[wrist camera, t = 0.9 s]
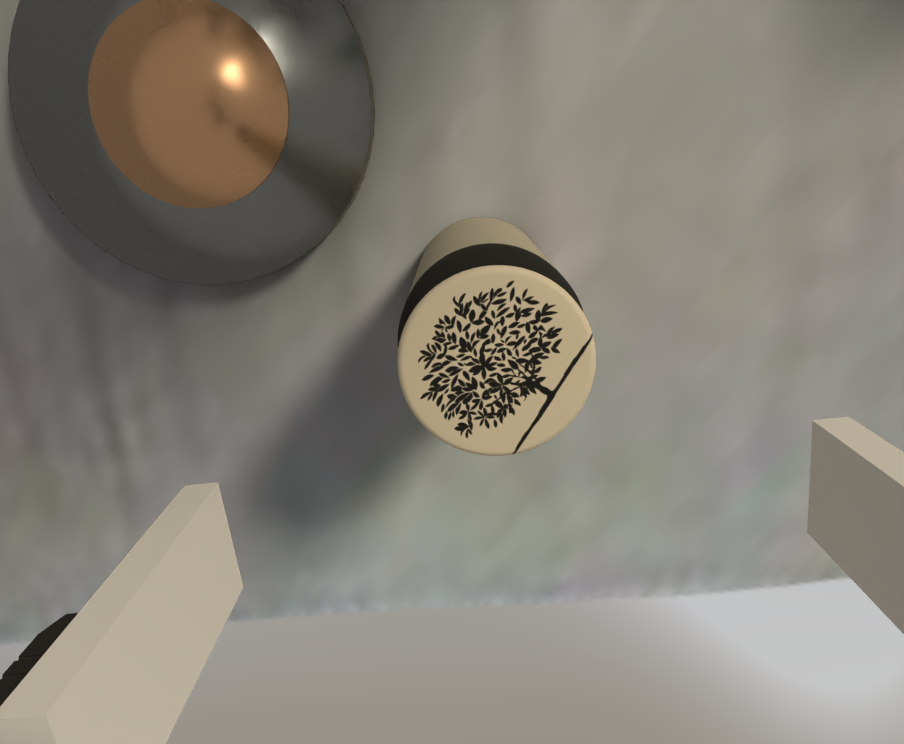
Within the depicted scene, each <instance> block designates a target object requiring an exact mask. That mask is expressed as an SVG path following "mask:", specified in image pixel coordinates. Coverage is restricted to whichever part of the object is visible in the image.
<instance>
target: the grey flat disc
mask: <svg viewBox="0 0 904 744" xmlns="http://www.w3.org/2000/svg"><path fill="white" fill-rule="evenodd" d="M8 82H9V90H10V99H11V106H12V110H13V115H14V119H15V123H16V127H17V131H18V134H19V136H20V139H21V142H22V145H23V147H24V150H25V153H26V155H27V157H28V159H29V161H30V163H31V165H32V167H33V169H34V171H35V173H36V175H37V177H38V179H39V180H40V182H41V183H42V185H43V187H44V188H45V190H46V191H47V193H48V194H49V196H50V197H51V199H52V200H53V201H54V202H55V204H56V205H57V206H58V207H59V209H60V210H61V211H62V212H63V214H64V215H65V216H66V217H67V218H68V219H69V220H70V221H71V222H72V223H73V224H74V225H75V226H76V227H77V228H78V229H79V230H80V231H81V232H82V233H83V234H84V235H85V236H86V237H88V238H89V239H90V240H92V241H93V242H94V243H95V244H97V245H98V246H99V247H100V248H102V249H103V250H105V251H106V252H108V253H109V254H111V255H113V256H114V257H116V258H117V259H119V260H121V261H122V262H124V263H126V264H128V265H131V266H133V267H135V268H137V269H139V270H141V271H143V272H146V273H149V274H152V275H155V276H158V277H161V278H164V279H168V280H173V281H178V282H183V283H190V284H203V285H216V284H231V283H237V282H242V281H247V280H252V279H255V278H258V277H261V276H264V275H267V274H270V273H272V272H274V271H276V270H278V269H280V268H282V267H284V266H286V265H288V264H290V263H292V262H293V261H295V260H297V259H298V258H300V257H301V256H302V255H304V254H305V253H307V252H308V251H310V250H311V249H313V248H314V247H315V246H316V245H318V244H319V243H320V242H321V241H322V240H323V239H324V238H325V237H326V236H327V235H328V234H330V232H331V231H332V230H333V229H334V228H335V226H336V225H337V224H338V223H339V222H340V220H341V219H342V218H343V217H344V215H345V213H346V212H347V210H348V209H349V207H350V205H351V204H352V202H353V201H354V199H355V197H356V194H357V192H358V190H359V188H360V186H361V183H362V181H363V179H364V175H365V172H366V169H367V165H368V162H369V159H370V154H371V148H372V142H373V136H374V114H375V110H374V98H373V86H372V81H371V77H370V72H369V67H368V62H367V59H366V56H365V53H364V50H363V47H362V44H361V41H360V38H359V36H358V34H357V32H356V30H355V28H354V26H353V23H352V21H351V19H350V17H349V15H348V13H347V12H346V10H345V9H344V7H343V6H342V4H341V2H340V1H339V0H20V2H19V4H18V8H17V12H16V15H15V19H14V22H13V26H12V31H11V38H10V46H9V53H8Z"/></svg>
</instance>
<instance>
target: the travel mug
mask: <svg viewBox="0 0 904 744" xmlns="http://www.w3.org/2000/svg"><path fill="white" fill-rule="evenodd" d="M397 366H398V376H399V382H400V386H401V389H402V392H403V395H404V398H405V400H406V402H407V404H408V406H409V407H410V409H411V411H412V412H413V414H414V415H415V417H416V418H417V419H418V420H419V422H420V423H421V424H422V425H423V426H424V427H425V428H426V429H427V430H428V431H429V432H431V433H432V434H433V435H434V436H436V437H437V438H438V439H440V440H442V441H443V442H445V443H447V444H449V445H451V446H453V447H455V448H457V449H460V450H463V451H466V452H470V453H474V454H480V455H490V456H501V455H510V454H516V453H520V452H524V451H527V450H530V449H533V448H535V447H538V446H540V445H542V444H544V443H546V442H547V441H549V440H550V439H552V438H554V437H555V436H556V435H558V434H559V433H560V432H561V431H563V430H564V429H565V428H566V427H567V426H568V425H569V424H570V423H571V422H572V421H573V419H574V418H575V417H576V416H577V414H578V413H579V412H580V410H581V408H582V407H583V405H584V403H585V401H586V399H587V397H588V395H589V392H590V390H591V387H592V383H593V379H594V374H595V368H596V350H595V343H594V338H593V334H592V331H591V328H590V325H589V323H588V321H587V319H586V317H585V315H584V313H583V310H582V306H581V304H580V302H579V300H578V297H577V296H576V294H575V292H574V291H573V289H572V288H571V286H570V285H569V283H568V282H567V281H566V280H565V279H564V278H563V276H562V275H561V274H560V273H559V272H558V271H557V270H556V269H555V267H554V266H553V265H552V264H551V263H550V262H549V261H548V259H547V258H546V257H545V256H544V255H543V254H542V253H541V252H540V250H539V249H538V248H537V247H536V246H535V245H534V244H533V242H532V241H531V240H530V239H529V238H528V237H527V236H526V235H525V234H524V233H523V232H522V231H520V230H519V229H518V228H516V227H515V226H513V225H511V224H509V223H507V222H504V221H501V220H498V219H494V218H485V217H478V218H470V219H465V220H462V221H459V222H456V223H454V224H452V225H450V226H449V227H447V228H445V229H444V230H443V231H441V232H440V233H439V234H438V235H437V236H436V237H435V238H434V239H433V240H432V241H431V242H430V244H429V245H428V247H427V248H426V250H425V252H424V254H423V256H422V258H421V261H420V264H419V267H418V269H417V272H416V275H415V278H414V281H413V284H412V286H411V289H410V292H409V295H408V298H407V301H406V304H405V306H404V309H403V312H402V315H401V319H400V324H399V330H398V358H397Z"/></svg>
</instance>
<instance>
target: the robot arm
mask: <svg viewBox="0 0 904 744" xmlns="http://www.w3.org/2000/svg"><path fill="white" fill-rule="evenodd" d="M807 532H808V534H809V535H810V536H811V537H812V538H813V539H814V540H815V541H816V542H817V543H818V544H819V545H820V546H821V547H822V548H823V549H824V550H825V551H826V553H827V554H828V555H829V556H830V557H831V558H832V559H833V560H834V561H835V562H836V563H837V564H838V565H839V566H840V567H841V568H842V569H843V570H844V572H845V573H846V574H847V575H848V576H849V577H850V578H851V579H852V580H853V581H854V582H855V583H856V584H857V585H858V586H859V587H860V588H861V589H862V591H863V592H864V593H865V594H866V595H867V596H868V597H869V598H870V599H871V600H872V601H873V602H874V603H875V604H876V605H877V606H878V607H879V608H880V610H881V611H882V612H883V613H884V614H885V615H886V616H887V617H888V618H889V619H890V620H891V621H892V622H893V623H894V624H895V625H896V626H897V627H898V628H899V629H900V631H902V633H903V634H904V452H902V451H901V450H899V449H898V448H896V447H894V446H893V445H891V444H890V443H888V442H887V441H885V440H884V439H882V438H881V437H879V436H878V435H876V434H874V433H873V432H871V431H870V430H868V429H867V428H865V427H864V426H862V425H861V424H859V423H858V422H856V421H854V420H853V419H851V418H850V417H841V418H831V419H821V420H813V422H812V444H811V465H810V486H809V507H808V528H807ZM242 589H243V583H242V579H241V575H240V571H239V567H238V563H237V559H236V555H235V551H234V546H233V542H232V538H231V534H230V530H229V526H228V522H227V518H226V513H225V509H224V505H223V501H222V497H221V493H220V489H219V485H218V482H216V483H206V484H196V485H187V486H184V487H183V488H182V489H181V491H180V492H179V493H178V494H177V495H176V497H175V498H174V499H173V500H172V501H171V503H170V504H169V505H168V506H167V507H166V509H165V510H164V511H163V512H162V513H161V514H160V516H159V517H158V518H157V519H156V520H155V522H154V523H153V524H152V525H151V526H150V528H149V529H148V530H147V531H146V532H145V534H144V535H143V536H142V537H141V538H140V540H139V541H138V542H137V543H136V544H135V546H134V547H133V548H132V549H131V550H130V552H129V553H128V554H127V555H126V556H125V558H124V559H123V560H122V561H121V562H120V564H119V565H118V566H117V567H116V568H115V570H114V571H113V572H112V573H111V574H110V576H109V577H108V578H107V579H106V580H105V582H104V583H103V584H102V585H101V586H100V588H99V589H98V590H97V591H96V592H95V594H94V595H93V596H92V597H91V598H90V600H89V601H88V602H87V603H86V604H85V606H84V607H83V608H82V609H81V610H80V612H79V613H73V614H66V615H64V616H63V617H62V618H60V619H59V620H57V621H56V622H55V623H53V624H52V625H50V626H49V627H48V628H46V629H45V630H44V631H42V632H41V633H39V634H38V635H37V636H36V637H35V639H34V640H33V641H32V642H31V643H30V644H29V645H28V647H27V648H26V649H25V650H24V651H23V652H22V653H21V655H20V656H19V660H18V661H14V662H13V664H12V665H11V666H10V667H9V668H8V669H7V670H6V671H5V673H4V674H3V677H2V679H1V680H0V744H166V742H167V740H168V738H169V736H170V734H171V732H172V730H173V728H174V726H175V724H176V722H177V720H178V718H179V716H180V714H181V712H182V710H183V708H184V706H185V704H186V702H187V700H188V697H189V696H190V694H191V692H192V690H193V688H194V686H195V684H196V682H197V680H198V678H199V676H200V674H201V672H202V670H203V668H204V666H205V664H206V661H207V660H208V658H209V656H210V653H211V651H212V650H213V647H214V646H215V643H216V641H217V639H218V637H219V635H220V633H221V631H222V629H223V627H224V625H225V623H226V621H227V619H228V617H229V615H230V613H231V611H232V609H233V607H234V605H235V603H236V601H237V599H238V597H239V595H240V593H241V591H242Z"/></svg>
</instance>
